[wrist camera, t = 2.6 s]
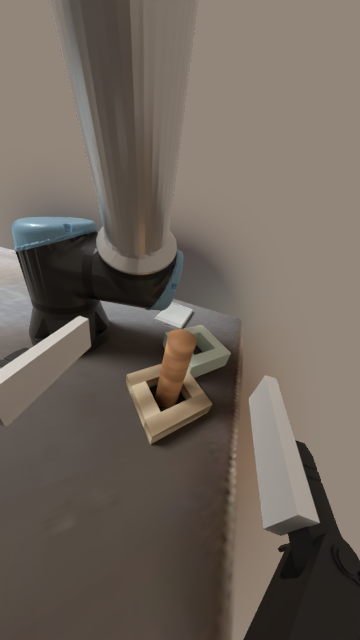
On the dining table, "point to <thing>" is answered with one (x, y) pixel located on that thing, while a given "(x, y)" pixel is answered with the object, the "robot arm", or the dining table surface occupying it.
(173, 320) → the hard drive
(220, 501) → the dining table surface
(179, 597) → the dining table surface
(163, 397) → the peg
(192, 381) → the holder
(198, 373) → the socket block
